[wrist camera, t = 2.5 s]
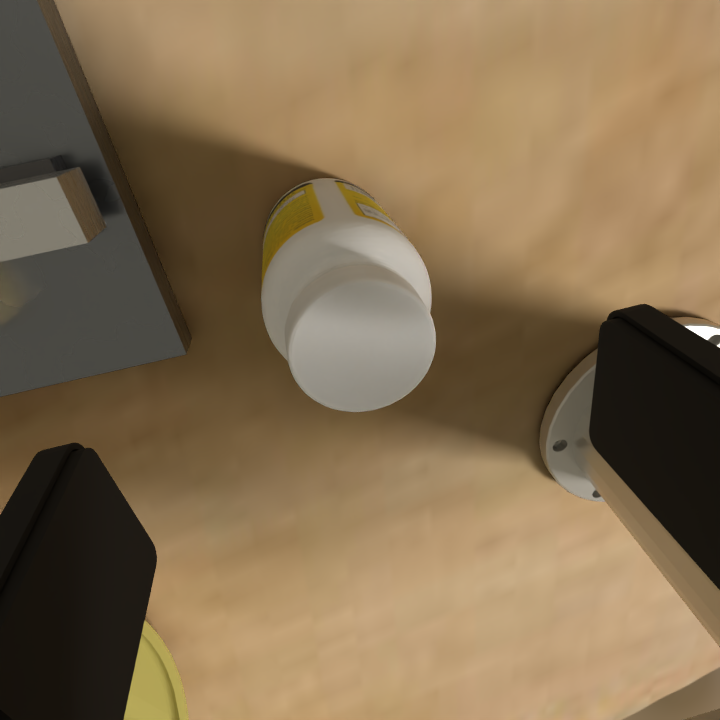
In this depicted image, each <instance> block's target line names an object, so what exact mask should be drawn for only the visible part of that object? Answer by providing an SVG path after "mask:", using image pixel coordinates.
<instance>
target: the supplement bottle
mask: <svg viewBox="0 0 720 720" xmlns="http://www.w3.org/2000/svg"><path fill="white" fill-rule="evenodd" d="M431 301H432V295H431V285H430V279H429V275H428V272H427V269H426V266H425V264H424V262H423V261H422V259H421V257H420V255H419V254H418V252H417V250H416V249H415V247H414V246H413V245H412V243H411V242H410V241H409V240H408V239H407V237H406V236H405V235H404V234H403V233H402V232H401V230H400V229H399V228H398V227H397V226H396V225H395V223H394V222H393V221H392V220H391V219H390V217H389V216H388V215H387V214H386V213H385V211H384V210H383V209H382V208H381V206H380V205H379V204H378V203H377V202H376V201H375V200H374V198H373V197H371V196H370V195H369V194H368V193H367V192H365V191H364V190H363V189H361V188H360V187H358V186H356V185H354V184H352V183H350V182H347V181H344V180H339V179H333V178H320V179H314V180H310V181H307V182H304V183H301V184H299V185H297V186H296V187H294V188H292V189H291V190H289V191H288V192H287V193H286V194H284V195H283V196H282V197H281V198H280V199H279V200H278V202H277V203H276V204H275V206H274V207H273V209H272V211H271V213H270V214H269V217H268V219H267V222H266V226H265V230H264V235H263V262H262V287H261V303H262V314H263V319H264V323H265V326H266V329H267V332H268V334H269V337H270V339H271V341H272V342H273V344H274V346H275V347H276V348H277V350H278V351H279V352H280V353H281V354H282V356H283V357H284V358H285V359H286V360H287V361H288V364H289V367H290V370H291V373H292V375H293V377H294V379H295V381H296V382H297V384H298V385H299V387H300V388H301V389H302V390H303V391H304V392H305V393H306V394H307V395H308V396H309V397H311V398H312V399H313V400H315V401H317V402H318V403H320V404H322V405H324V406H326V407H329V408H332V409H336V410H340V411H347V412H364V411H372V410H376V409H379V408H383V407H385V406H388V405H390V404H392V403H394V402H396V401H398V400H400V399H402V398H403V397H404V396H406V395H407V394H409V393H410V392H411V391H412V390H413V389H414V388H415V387H416V386H417V385H418V384H419V383H420V382H421V380H422V379H423V378H424V376H425V375H426V373H427V371H428V369H429V367H430V365H431V363H432V360H433V357H434V353H435V348H436V332H435V327H434V323H433V319H432V317H431V315H430V311H431Z"/></svg>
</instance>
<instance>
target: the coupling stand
mask: <svg viewBox="0 0 720 720" xmlns="http://www.w3.org/2000/svg"><path fill="white" fill-rule="evenodd" d="M191 339H192V338H191V336H190V333H189V331H188V328H187V326H186V323H185V321H184V319H183V316H182V314H181V311H180V309H179V306H178V304H177V301H176V299H175V296H174V294H173V292H172V289H171V287H170V284H169V282H168V279H167V277H166V274H165V272H164V269H163V267H162V265H161V262H160V260H159V257H158V255H157V252H156V250H155V247H154V245H153V243H152V240H151V238H150V235H149V233H148V230H147V228H146V225H145V223H144V220H143V218H142V216H141V213H140V211H139V208H138V206H137V203H136V201H135V198H134V196H133V194H132V191H131V189H130V186H129V184H128V181H127V179H126V176H125V174H124V171H123V169H122V167H121V164H120V162H119V159H118V157H117V154H116V152H115V149H114V147H113V144H112V142H111V140H110V137H109V135H108V132H107V130H106V127H105V125H104V122H103V120H102V118H101V115H100V113H99V110H98V108H97V105H96V103H95V100H94V98H93V95H92V93H91V91H90V88H89V86H88V83H87V81H86V78H85V76H84V73H83V71H82V69H81V66H80V64H79V61H78V59H77V56H76V54H75V51H74V49H73V46H72V44H71V42H70V39H69V37H68V34H67V32H66V29H65V27H64V24H63V22H62V20H61V17H60V15H59V12H58V10H57V7H56V5H55V2H54V0H0V397H1V396H6V395H10V394H14V393H19V392H23V391H28V390H32V389H36V388H41V387H45V386H50V385H54V384H58V383H63V382H67V381H72V380H76V379H80V378H85V377H89V376H94V375H98V374H102V373H107V372H111V371H115V370H120V369H124V368H129V367H133V366H137V365H142V364H146V363H151V362H155V361H159V360H164V359H168V358H173V357H177V356H181V355H186V354H187V351H188V348H189V345H190V342H191Z"/></svg>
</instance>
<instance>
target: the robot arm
mask: <svg viewBox="0 0 720 720" xmlns="http://www.w3.org/2000/svg"><path fill="white" fill-rule="evenodd" d="M539 444H540V451H541V457H542V459H543V461H544V463H545V465H546V467H547V469H548V471H549V472H550V473H551V475H552V476H553V477H554V479H555V480H556V482H557V483H558V484H559V485H560V486H561V487H563V488H564V489H565V490H566V491H567V492H569V493H571V494H573V495H575V496H577V497H580V498H583V499H587V500H591V501H602V502H606V503H607V504H608V505H609V507H610V508H611V509H612V511H613V512H614V513H615V514H616V516H617V517H618V518H619V519H620V521H621V522H622V523H623V525H624V526H625V527H626V528H627V530H628V531H629V532H630V533H631V535H632V536H633V537H634V539H635V540H636V541H637V542H638V544H639V545H640V546H641V548H642V549H643V550H644V551H645V553H646V554H647V555H648V556H649V558H650V559H651V560H652V562H653V563H654V564H655V565H656V567H657V568H658V569H659V570H660V572H661V573H662V574H663V576H664V577H665V578H666V579H667V581H668V582H669V583H670V584H671V586H672V587H673V588H674V590H675V591H676V592H677V593H678V595H679V596H680V597H681V598H682V600H683V601H684V602H685V604H686V605H687V606H688V607H689V609H690V610H691V611H692V613H693V614H694V615H695V616H696V618H697V619H698V620H699V621H700V623H701V624H702V625H703V627H704V628H705V629H706V630H707V632H708V633H709V634H710V635H711V637H712V638H713V639H714V641H715V642H716V643H717V644H718V646H719V647H720V325H718V324H715V323H713V322H711V321H708V320H705V319H699V318H692V317H678V318H670V317H668V316H667V315H665V314H663V313H662V312H660V311H658V310H657V309H655V308H653V307H652V306H650V305H647V304H640V305H636V306H632V307H628V308H624V309H620V310H616V311H613V312H611V313H610V314H609V316H608V318H607V321H605V322H603V323H602V325H601V327H600V332H599V341H598V348H597V349H596V350H595V351H593V352H592V353H591V354H589V355H588V356H587V357H586V358H584V359H583V360H582V361H581V362H580V363H579V364H578V365H577V366H576V367H575V368H574V369H573V370H572V371H571V372H570V373H569V374H568V375H567V377H566V378H565V379H564V381H563V382H562V384H561V385H560V386H559V388H558V389H557V390H556V392H555V393H554V395H553V397H552V399H551V401H550V403H549V405H548V407H547V409H546V411H545V414H544V417H543V421H542V424H541V428H540V440H539ZM156 563H157V555H156V549H155V546H154V544H153V542H152V541H151V539H150V537H149V536H148V534H147V533H146V531H145V529H144V528H143V526H142V525H141V523H140V521H139V520H138V518H137V517H136V515H135V514H134V512H133V510H132V509H131V507H130V506H129V504H128V502H127V501H126V499H125V498H124V496H123V494H122V493H121V491H120V490H119V488H118V486H117V485H116V483H115V482H114V480H113V479H112V477H111V475H110V474H109V472H108V471H107V469H106V467H105V466H104V464H103V463H102V461H101V459H100V458H99V456H98V455H97V453H96V452H95V451H94V450H93V449H91V448H84V447H83V446H82V445H80V444H79V443H71V444H67V445H62V446H58V447H54V448H50V449H46V450H42V451H40V452H38V453H37V454H36V456H35V457H34V458H33V460H32V462H31V464H30V465H29V467H28V469H27V470H26V472H25V474H24V475H23V477H22V479H21V481H20V482H19V484H18V486H17V487H16V489H15V491H14V493H13V494H12V496H11V498H10V499H9V501H8V503H7V504H6V506H5V508H4V510H3V511H2V513H1V515H0V720H124V715H125V711H126V706H127V701H128V696H129V692H130V687H131V682H132V677H133V673H134V668H135V663H136V658H137V654H138V649H139V644H140V640H141V635H142V630H143V625H144V621H145V616H146V611H147V606H148V602H149V597H150V592H151V587H152V583H153V578H154V573H155V569H156ZM683 720H720V709H717V710H714V711H710V712H707V713H704V714H700V715H697V716H693V717H690V718H687V719H683Z"/></svg>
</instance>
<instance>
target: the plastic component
mask: <svg viewBox="0 0 720 720" xmlns="http://www.w3.org/2000/svg"><path fill="white" fill-rule="evenodd" d="M124 720H189V719H188V710H187V705H186V699H185V693H184V690H183V686H182V682H181V678H180V675H179V673H178V670H177V668H176V665H175V663H174V660H173V658H172V655H171V654H170V652H169V650H168V649H167V647H166V646H165V644H164V642H163V641H162V639H161V638H160V636H159V635H158V634H157V633H156V632H155V630H154V629H153V628H152V627H151V626H150V625H149V624H148V623H147V622H146V621H144V625H143V630H142V635H141V640H140V644H139V649H138V654H137V658H136V663H135V668H134V673H133V677H132V682H131V687H130V692H129V696H128V701H127V706H126V711H125V715H124Z"/></svg>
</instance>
